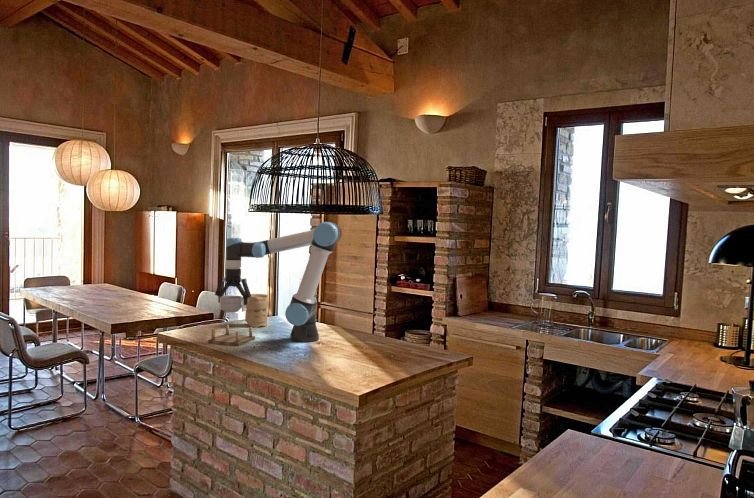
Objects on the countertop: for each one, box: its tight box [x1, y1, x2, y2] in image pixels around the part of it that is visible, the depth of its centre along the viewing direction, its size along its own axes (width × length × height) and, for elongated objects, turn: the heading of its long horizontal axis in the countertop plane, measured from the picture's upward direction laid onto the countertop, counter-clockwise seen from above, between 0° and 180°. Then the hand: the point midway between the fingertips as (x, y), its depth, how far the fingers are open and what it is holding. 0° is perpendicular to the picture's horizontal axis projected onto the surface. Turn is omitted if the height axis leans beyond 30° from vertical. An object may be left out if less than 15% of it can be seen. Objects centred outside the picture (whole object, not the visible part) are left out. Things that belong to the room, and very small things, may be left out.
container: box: [244, 293, 269, 329], centre depth 324 cm, size 13×13×18 cm
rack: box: [207, 324, 256, 347], centre depth 283 cm, size 17×17×6 cm
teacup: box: [219, 295, 248, 313], centre depth 282 cm, size 14×11×8 cm
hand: (232, 310), depth 282 cm, fingers closed on teacup, 12 cm apart
